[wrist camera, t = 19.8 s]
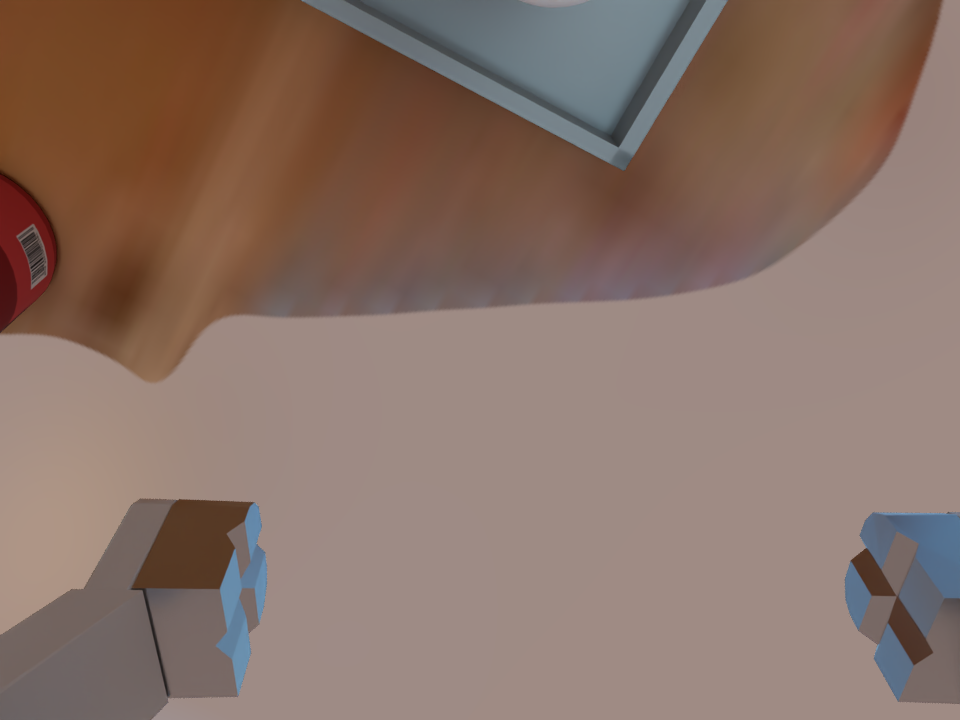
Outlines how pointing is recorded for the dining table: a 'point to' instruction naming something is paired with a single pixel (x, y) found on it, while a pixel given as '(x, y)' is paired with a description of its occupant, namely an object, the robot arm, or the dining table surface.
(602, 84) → the tray
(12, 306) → the canned food
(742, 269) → the dining table surface
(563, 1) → the supplement bottle
